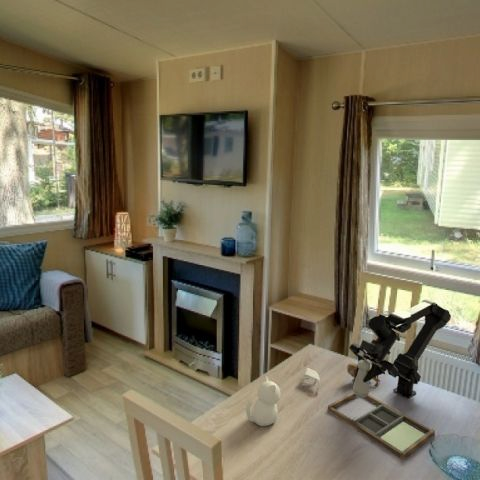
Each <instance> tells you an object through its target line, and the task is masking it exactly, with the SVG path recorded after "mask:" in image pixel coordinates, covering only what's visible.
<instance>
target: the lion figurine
mask: <svg viewBox="0 0 480 480" xmlns="http://www.w3.org/2000/svg"><path fill="white" fill-rule="evenodd" d="M357 364H358V363H354V362H350V363H349V364H347V373H348V374H349V375H350V376H351V377H352V378H353V379H351V381H352V382H355V379H356V377H355V373H356V369H357ZM370 369H371V367H370ZM370 369H369V370H370ZM369 370H368V372H369ZM372 380H373V381H374V382H375V384H374V385H375V386H379V383H380V382H381V380H380V379H379V375H378V376H376V377H374V378H372V379H370V380H369V382H371V381H372Z"/></svg>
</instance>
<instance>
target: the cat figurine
mask: <svg viewBox="0 0 480 480" xmlns="http://www.w3.org/2000/svg"><path fill="white" fill-rule="evenodd" d="M281 395H282V392H281V389H280V387H279V385H278V384H277V383H276V382H274V381H271V380H269V378H268V376H266V375H265V376H264V379H263V381H262V382H261V383H260V384H259V386H258V389H257V398H258V399H256V401H255V402H254V403H253V405H252V400H251V399H249V400H248V401H247V403H246V407H245V411H246V412H245V413H246V418H247V419H248V420H249V421H250V422H251V423H255V424H256V425H258V426H260V427H267V426H269V425H271V424H274V423H276V422H277V420H278V416H279V413H278V412H279V411H278V409H279V408H278V405H277V403H278V402H279V401H280V398H281ZM251 406H252V407H251ZM251 408H252V409H251Z"/></svg>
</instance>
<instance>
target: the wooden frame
mask: <svg viewBox="0 0 480 480" xmlns="http://www.w3.org/2000/svg"><path fill="white" fill-rule="evenodd" d="M355 398H359V397H358V396H356V395H355V393H354V391H352V392H350V393H349V394H347V395H345V396H343V397H341V398H339V399H337V400H335V401H333V402H331V403H330V404H327V411H328V412H330V413H331V414H333V415H334V416H336V417H337V418H338V419H340V420H342V422H344V423H346V424H348V425H350V426H351V427H352V428H354V429H355V430H357V431H358V432H359V433H361V434H363V435H365V436H366V437H367V438H369V439H371V440H372V441H374V442H375V443H377V444H378V445H380V446H381V447H382V448H384V449H386V450H387V451H389V452H390V453H392V454H393V455H395V456H397V457H398V458H400V459H401V460H402V461H404V460H405V459H407V458H408V457H409V456H411V455H412V454H413V453H414V452H416V451H417V450H418V449H419V448H421V447H422V446H423V445H425V444H426V443H427V442H429V441H430V440H431V439H432V438H434V437H435V435H436V430H435V429H434V428H432V429H431V428H429V427H427V426H425V425H424V424H423V423H421V422H419V421H417V420H415V419H413V418H411V417H409V416H407V414H404V413H403V412H401V411H399V410H396V409H395V408H393V407H391V406H390V405H389V404H386V403H384V402H383V401H381V400H379V399H377V398H375V397H374V396H372V395H370V394H368V395H367V396H366V397H365V398H364V399H366V400H368V401H370V402H371V403H373V404H375V405H376V406H377V407H378V406H380V405H381V404H383V405H385V406H386V407H388V408H390V409H392V410H393V411H395V412H397V413H399V414H401V415H402V416H404V420H403V422H405V423H407V424H409V425H410V426H411V425H412V427H414V428H415V427H416V428H417V430H418V429H419V431H421V432H423V433H424V434H425V435H424V436H422V437H421V438H420V439H418V440H417V441H416V442H414V443H413V444H412V445H410V446H409V447H408V448H406V449H405V450H404V451H402V452H401V451H400V450H398V449H397V448H395V447H393V446H392V445H390V444H389V443H387V442H386V441H384V440H383V439H381V438H380V436H379V437H378V436H376V435H375V434H373V433H372V432H370V431H368V430H367V429H365V428H364V427H362V426H361V425H359V424H358V423H356V422H354V420H352V419H351V418H350V417H348V416H347V415H345V414H344V413H342V412H341V411H338V408H339V407H342V405H345V404H347V403H349V402H350V401H352V400H354V399H355Z"/></svg>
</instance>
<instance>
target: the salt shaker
mask: <svg viewBox="0 0 480 480" xmlns="http://www.w3.org/2000/svg"><path fill="white" fill-rule="evenodd" d="M356 364H357V366H358V368H359V370H358V373H357V376H356V379H355V381H353V382H354V383H353V386H352V388H353V392H354V393H355V395H356V396H358V397H357V398H362V399H366V398H365V397H366V396H367V395H369V393H370V392H371V387H370V386H371V385H370V381H367V382H363V380H364V378H365V376H366V375H367V373H368V370H369V369H370V368H371V364H370V362H369V361H368V360H367V361H366V360H360V361H358V360H357V363H356Z"/></svg>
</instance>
